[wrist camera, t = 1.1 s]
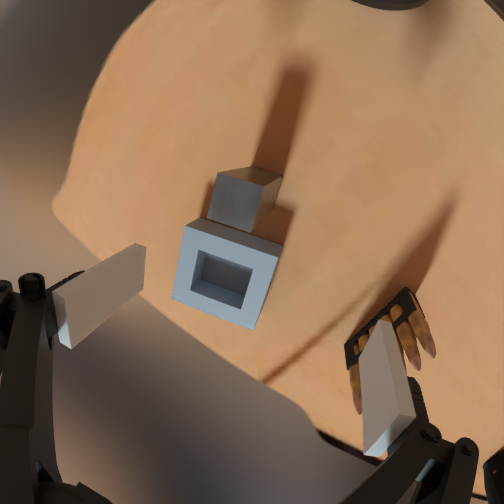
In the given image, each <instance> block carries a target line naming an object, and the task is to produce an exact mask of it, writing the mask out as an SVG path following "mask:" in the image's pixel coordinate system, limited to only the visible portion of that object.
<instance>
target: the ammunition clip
mask: <svg viewBox="0 0 504 504" xmlns="http://www.w3.org/2000/svg"><path fill="white" fill-rule="evenodd" d="M379 319H380V320H383V321H387V322H391V323H392V326H393V330H394V333H395V336H396V340H397V343H398V346H399V350H400V353H401V357H402V361H403V364H404V368H405V372H406V365H405V360H404V352H403V349H404V350H405V352H406V355H407V357H408V359H409V361H410V363H411V365H412V366H413V368H414V369H415V370H417V371H420V369H421V358H420V353H419V350H418V346H417V341H416V337H417V338H418V339H419V341H420V343H421V345H422V347H423V349H424V350H425V352H426V353H427V354H428V355H429V356H430V357H431V358H435V356H436V349H435V344H434V341H433V338H432V335H431V333H430V329H429V325H428V323H427V321H426V319H425V316H424V314H423V311H422V309H421V307H420V305H419V302H418V300H417V298H416V296H415V294H414V293H413V292H411V291H410V290H409V289H408V288H407V287H404V288H403V289H402V290H401V291H400V292H399V294H398V295H397V296H396V297H395V298H394V299H393V300H392V301H391V302H390V303H389V304H388V305H387V306H385V307H384V308H383V309H382V310H381V311H380V312H379V313H378V314H377V315H376V316H375V317H374V318H373V319H372V320H371V321H370V322H369V323H368V324H367V325H366V326H364V327H363V328H362V329H361V330H360V331H359V332H358V333H357V334H356V335H355V336H353V337H352V338H351V339H350V340H349V341H348V342H347V343H345V344H344V349H345V358H346V367H347V370H348V371H349V373H350V386H351V389H352V395H353V402H354V406H355V409H356V411H357V413H358V414H359V415H360V414H361V413H362V397H361V383H360V370H359V357H360V355H361V353H362V351H363V349H364V348H365V346H366V344H367V342H368V340H369V338H370V336H371V334H372V332H373V330H374V328H375V326H376V324H377V322H378V320H379ZM415 336H416V337H415ZM402 347H403V348H402ZM406 375H407V372H406Z"/></svg>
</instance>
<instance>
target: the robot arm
mask: <svg viewBox="0 0 504 504" xmlns="http://www.w3.org/2000/svg"><path fill="white" fill-rule="evenodd" d="M352 1H354V2H357V3H359V4H362V5H365V6H369V7H373V8H377V9H383V10H408V9H412V8H416V7H418V6H420V5H422V4H424V3H425V2H426V1H427V0H352ZM484 1H485V2H486V3H487V4H488V5H489V6H490V7H491V8H492V9H493V10H494V11H495V12H496V13H497V14H498V16H499V17H500V18H501V19H502V20H503V21H504V0H484ZM145 257H146V247H145V246H142V245H139V244H136V243H135V244H133V245H131V246H129V247H127V248H126V249H124V250H122V251H120V252H118V253H117V254H115V255H113V256H111V257H110V258H108V259H106V260H104V261H102V262H101V263H99V264H97V265H96V266H94V267H92V268H90V269H89V270H87V271H80V272H76V273H74V274H72V275H70V276H68V278H65V279H63V280H62V281H60V282H58V283H57V284H55V285H53V286H51V287H50V288H48V289H45V280H44V277H43V276H42V275H41V274H39V273H27V274H24V275H22V276H21V277H20V278H19V279H18V283H19V289H20V293H16V292H13V288H12V284H11V282H9V281H7V280H0V375H1V373H2V378H1V384H0V504H112V503H111V502H110V501H109V500H108V499H107V498H105V497H103V496H102V495H100V494H98V493H97V492H95V491H93V490H92V489H90V488H88V487H87V486H85V485H83V484H82V483H81V482H79V483H78V484H77V486H74V485H70V484H66V483H63V482H62V479H61V476H60V473H59V470H58V466H57V461H56V452H55V442H54V428H53V403H52V377H53V353H54V338H53V336H54V335H55V334H56V333H59V339H60V342H61V343H62V344H64V345H66V346H67V347H69V348H70V349H72V348H73V347H75V346H76V345H77V344H78V343H79V342H80V341H81V340H83V339H84V338H85V337H86V336H87V335H89V334H90V333H91V332H92V331H93V330H94V329H96V328H97V327H98V326H99V325H100V324H102V323H103V322H104V321H105V320H106V319H108V318H109V317H110V316H111V315H112V314H113V313H115V312H116V311H117V310H118V309H119V308H121V307H122V306H123V305H124V304H126V303H127V302H128V301H129V300H130V299H132V298H133V297H134V296H135V295H136V294H138V293H139V292H140V291H141V290H143V284H144V269H145ZM2 370H3V372H2ZM359 370H360V383H361V397H362V416H363V446H364V455H369V456H377V457H380V456H381V455H382V454H383V453H384V452H385V451H386V450H387V453H388V457H387V458H386V459H385V460H384V461H383V462H382V463H381V464H380V465H379V466H378V467H377V468H376V469H375V470H374V471H373V472H372V473H371V474H370V475H369V476H368V477H367V478H366V479H365V480H364V481H363V482H362V483H361V484H360V485H358V486H357V487H356V488H355V489H354V490H353V491H352V492H351V493H349V494H348V495H347V496H346V497H345V498H344V499H342V500H341V501H340V502H339V503H338V504H396V503H397V501H398V500H399V499H400V498H401V497H402V496H403V494H404V493H405V492H406V491H407V490H408V488H409V487H410V486H411V484H412V483H413V482H414V481H415V480H416V481H418V483H417V485H416V488H415V490H414V493H413V495H412V497H411V500H410V502H409V504H469V503H470V499H471V495H472V491H473V486H474V481H475V476H476V470H477V464H478V457H479V449H478V447H477V445H476V443H475V442H474V441H473V440H471V439H470V438H466V437H464V438H460V439H459V440H458V441H457V442H456V443H455V444H454V443H451V442H449V441H446V440H444V439H442V436H441V433H440V431H439V429H438V428H437V427H436V426H434V425H433V424H431V423H429V419H428V415H427V411H426V407H425V403H424V402H423V401H424V399H423V396H422V392H421V388H420V385H419V384H418V382H417V381H416V380H415V378H413V377H408V376H406V372H405V368H404V364H403V361H402V357H401V353H400V350H399V346H398V343H397V340H396V336H395V333H394V330H393V326H392V323H391V322H387V321H383V320H380V319H379V320H378V322H377V324H376V326H375V328H374V330H373V332H372V334H371V336H370V338H369V340H368V342H367V344H366V346H365V348H364V349H363V351H362V353H361V355H360V357H359Z"/></svg>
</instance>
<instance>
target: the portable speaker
mask: <svg viewBox="0 0 504 504" xmlns="http://www.w3.org/2000/svg"><path fill="white" fill-rule="evenodd" d="M483 469H484V483H485V490H486V495H487V500H488V504H504V450H503V451H501V452H499V453H498V456H497V457H495V458H494V459H493V460H491V461H490V462H489V461H487V462H486V463H485V464H484V465H483Z"/></svg>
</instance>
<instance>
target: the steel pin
mask: <svg viewBox="0 0 504 504" xmlns="http://www.w3.org/2000/svg"><path fill="white" fill-rule="evenodd" d="M282 178H283V176H282V175H278V174H275V173H272V172H269V171H265V170H262V169H259V168H255V167H252V166H251V167H245V168H239V169H234V170H229V171H223V172H218V173H217V177H216V181H215V185H214V189H213V193H212V197H211V201H210V205H209V209H208V213H207V218H208V219H211V220H214V221H217V222H220V223H223V224H226V225H229V226H232V227H235V228H238V229H241V230H244V231H247V232H250V233H251V232H252V231H253V230H254V229H255V227H256V226H257V225H258V224H259V223H260V222H261V221H262V220H263V218H264V217H265V216H266V215H267V214H268V213H269V212H270V211H271V210H272V208H273V207H274V205H275V201H276V198H277V195H278V191H279V188H280V185H281V181H282Z"/></svg>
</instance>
